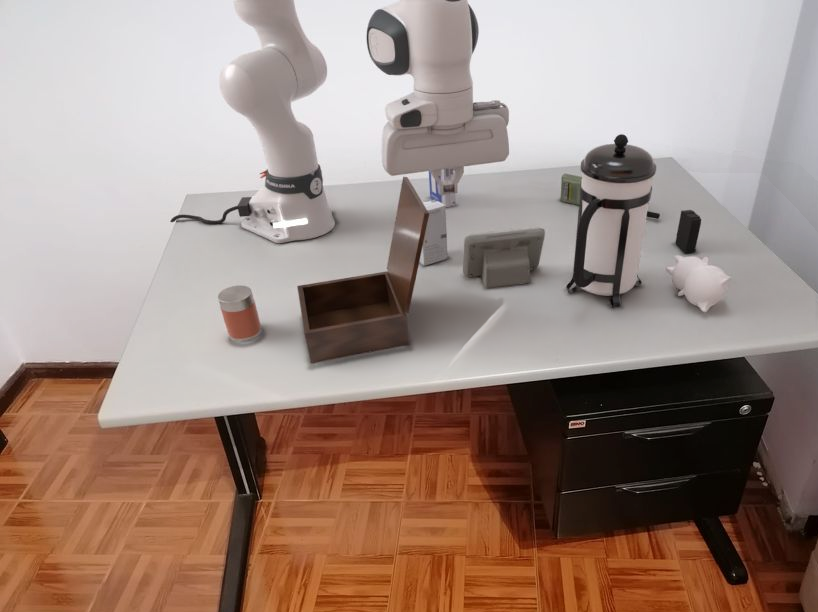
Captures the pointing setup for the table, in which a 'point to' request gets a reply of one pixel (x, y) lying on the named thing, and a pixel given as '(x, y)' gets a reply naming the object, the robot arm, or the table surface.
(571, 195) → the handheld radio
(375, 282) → the chest
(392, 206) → the table surface
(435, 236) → the cosmetic box
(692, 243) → the ink cartridge
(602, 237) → the coffee press
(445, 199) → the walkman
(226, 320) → the can
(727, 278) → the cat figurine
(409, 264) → the lid
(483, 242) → the digital clock
